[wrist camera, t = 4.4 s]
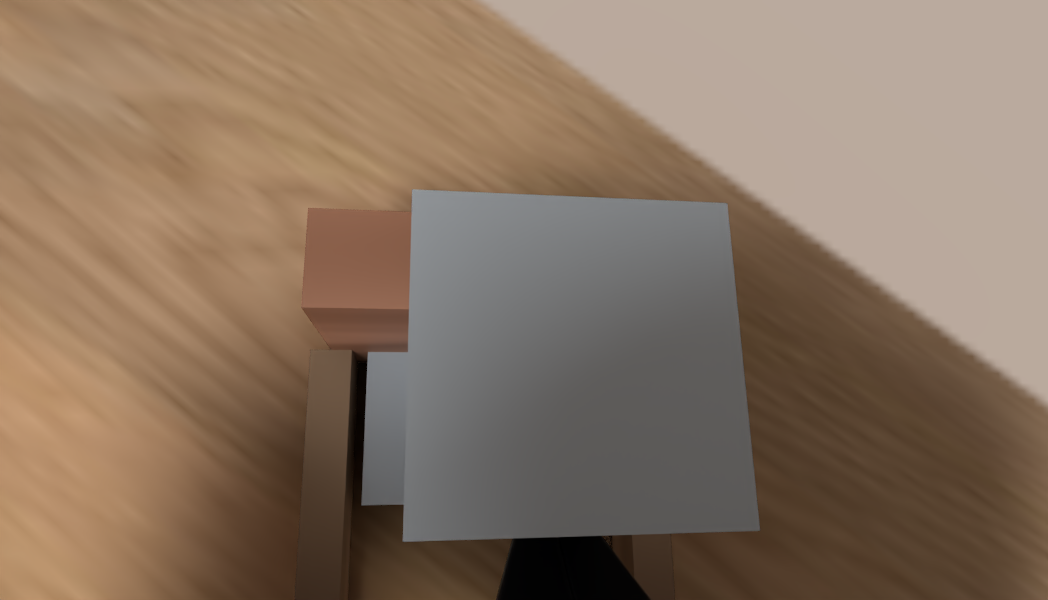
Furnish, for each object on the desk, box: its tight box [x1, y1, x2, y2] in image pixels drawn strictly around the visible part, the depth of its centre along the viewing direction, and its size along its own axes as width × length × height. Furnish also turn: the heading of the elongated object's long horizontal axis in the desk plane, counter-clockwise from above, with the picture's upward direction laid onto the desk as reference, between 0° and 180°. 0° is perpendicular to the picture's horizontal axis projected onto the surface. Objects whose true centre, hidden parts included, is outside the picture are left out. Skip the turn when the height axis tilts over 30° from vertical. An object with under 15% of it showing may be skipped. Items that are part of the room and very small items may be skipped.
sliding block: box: [361, 189, 760, 542], centre depth 10 cm, size 3×5×9 cm, turn 91°
